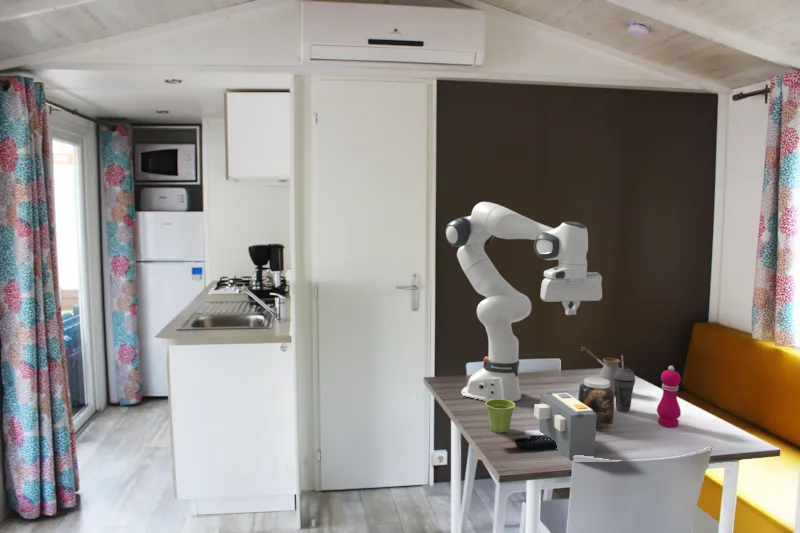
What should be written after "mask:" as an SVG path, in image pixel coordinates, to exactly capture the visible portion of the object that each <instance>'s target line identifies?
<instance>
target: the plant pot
mask: <svg viewBox="0 0 800 533" xmlns="http://www.w3.org/2000/svg"><path fill="white" fill-rule="evenodd" d="M485 406H486V409H487V414H488V421H489V430H490V431H492V432H493V433H494V432H495V433H497V434H501V433H507V432H509V431H510V428H511V422H512V416H513V412H514V408H515V407H516V403H515V402H514V401H513V402H512V401H509V400H504V399H492V400H488V401H485Z"/></svg>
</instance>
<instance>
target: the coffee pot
mask: <svg viewBox="0 0 800 533" xmlns="http://www.w3.org/2000/svg"><path fill="white" fill-rule="evenodd" d="M580 351H581V352H582V351H585V352H587V353H588V354H589V356H591V357H592V358H593V359H595V360H596V361H598V362H599V364H601V365H602V366H603V367H602V368H601V371H600V372H599V374H598V377H599V378H604V379H607V380H609V381H610V386H612V387H613V388H614V392H615V383H614V375H615V372H616V371H617V370H618V369H619V368H620V367H619V366H620V363H621V360H620V359H618V358H615V357H605V358H603V359H602V360H601V359H600V358H599V357H597V356H596V355H595V353H593V352H592V351H591V350H589V349H588V348H586V346H582V347H581V348H580Z"/></svg>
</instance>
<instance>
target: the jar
mask: <svg viewBox="0 0 800 533" xmlns="http://www.w3.org/2000/svg"><path fill="white" fill-rule="evenodd" d="M577 396H578V397H577V400H578V401H580V402H581V403H583V404H585V405H586V406H588V407H589V408H591V409H592V410H593V412H595V413H596V414H597V416H596V432H605V431H610V430H612V429H613V428H614V420H615V419H614V416H615V415H614V414H615V392H614V388H613V387H612V386H610V381H609V380H607V379H604V378H599V377H597V376H589V377H585V378H584V380H583V383H580V385H579V387H578V395H577Z"/></svg>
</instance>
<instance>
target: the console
mask: <svg viewBox="0 0 800 533" xmlns="http://www.w3.org/2000/svg"><path fill="white" fill-rule="evenodd" d="M539 400H540V402H539V404H548V405H549V406H551V412H550V419H540V420H539V430H538V431H540V432H541V433H543V434H544V435H546V436H548V437H550V438H552V439H553V440H554V441H555V442H556V445H557V448H556V449H557V451H559V452H560V453H561V454H562V455H563V456H564V457H565V458H567V459H568V458H569V459H568V460H573V459H572V457H573V456H574V455H584V456H595V454H596V452H595V450H596V433H597V431H596V416H597V414H596V413H595V412H593V410H592V409H591V408H589V407H588V406H586V405H585V404H583V403H581V402H580V401H578V398H575V397H574V396H573V395H571V394H569V393H567V392H564V391H563V392H561V391H560V392H547V393H546V392H543V393H540V397H539ZM555 415H563V416H564V417H566V431H559V430H558V429H556V428H555V427H554V419H555Z"/></svg>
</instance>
